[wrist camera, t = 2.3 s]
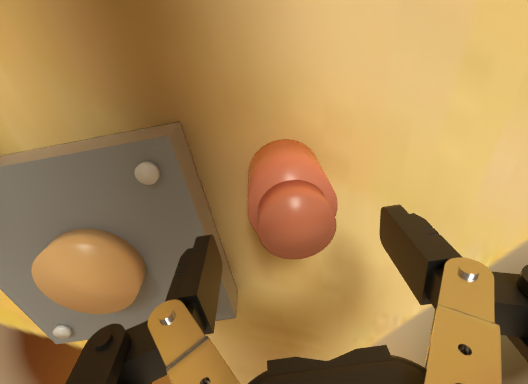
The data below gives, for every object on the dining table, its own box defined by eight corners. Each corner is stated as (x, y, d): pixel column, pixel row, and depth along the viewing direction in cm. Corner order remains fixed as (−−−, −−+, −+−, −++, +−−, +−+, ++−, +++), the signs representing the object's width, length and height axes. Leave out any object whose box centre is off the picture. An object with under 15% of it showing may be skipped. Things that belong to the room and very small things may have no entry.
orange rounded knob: (242, 146, 16) (237, 197, 11) (315, 133, 16) (346, 178, 11) (256, 207, 19) (257, 272, 14) (321, 196, 18) (347, 258, 13)
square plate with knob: (-57, 166, 16) (-140, 201, 13) (180, 121, 15) (159, 145, 12) (74, 316, 24) (43, 363, 20) (237, 291, 23) (235, 336, 19)
